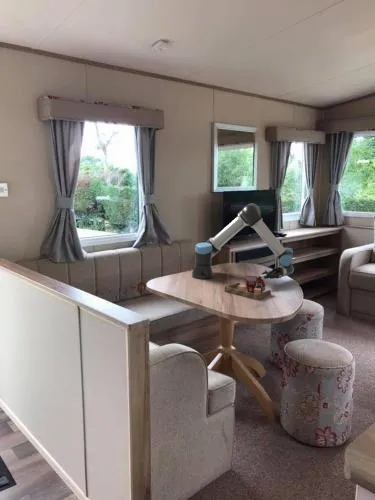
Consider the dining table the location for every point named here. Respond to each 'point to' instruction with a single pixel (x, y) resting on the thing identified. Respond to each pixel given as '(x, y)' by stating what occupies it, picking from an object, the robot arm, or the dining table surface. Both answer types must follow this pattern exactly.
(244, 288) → the light brown cube
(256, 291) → the tan cube
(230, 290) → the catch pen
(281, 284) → the dining table surface
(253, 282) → the toy fire truck
